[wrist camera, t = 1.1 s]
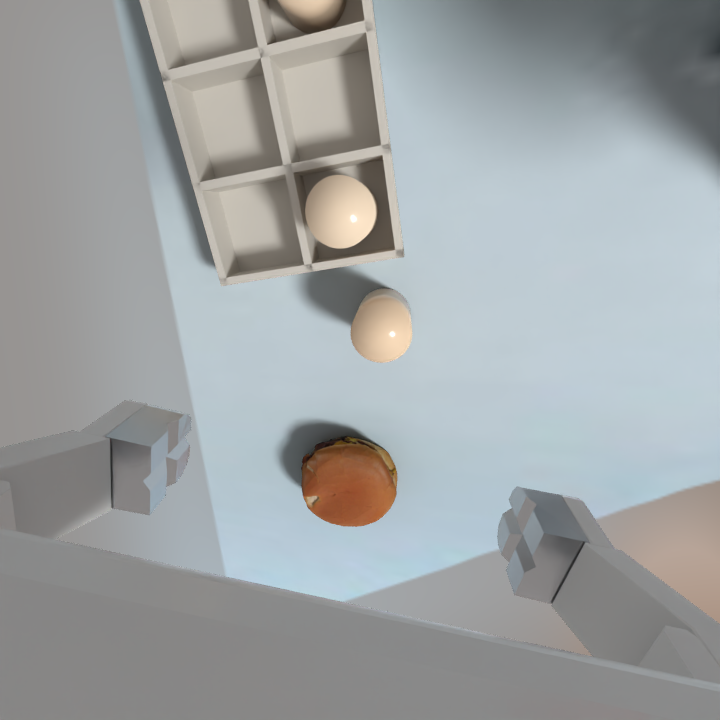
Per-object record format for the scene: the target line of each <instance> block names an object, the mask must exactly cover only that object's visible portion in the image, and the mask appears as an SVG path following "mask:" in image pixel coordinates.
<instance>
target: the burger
mask: <svg viewBox="0 0 720 720" xmlns="http://www.w3.org/2000/svg"><path fill="white" fill-rule="evenodd" d="M302 463H303V465H302V468H301V469H302V485H301V486H302V492H303V497H304V500H305V502H306V504H307V507H308V508H309V509H310V510H311V511H312V512H313V513H314V514H315V515H316V516H318V517H320V518H321V519H323V520H325V521H327V522H329V523H332V524H336V525H341V526H356V527H357V526H364V525H367V524H370V523H373V522H376V521H377V520H379V519H380V518H382V517H383V516H384V515H385V514H386V513H387V511H388V510H389V509H390V508H391V506H392V504H393V502H394V500H395V497H396V486H397V471H396V467H395V465H394V463H393V461H392V459H391V457H390V455H389V453H388V452H387V451H385V450H384V449H382V448H380V447H378V446H376V445H374V444H372V443H370V442H367V441H364V440H361V439H356V438H352V437H348V436H345V437H341V438H337V439H334V440H332V439H331V440H330V441H328V442H322V443H319V444H317V445H316V447H315V450H314V451H313V453H312V454H311V455H309V453H308V454H306V455H305V456H304V458H303V460H302Z"/></svg>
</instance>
